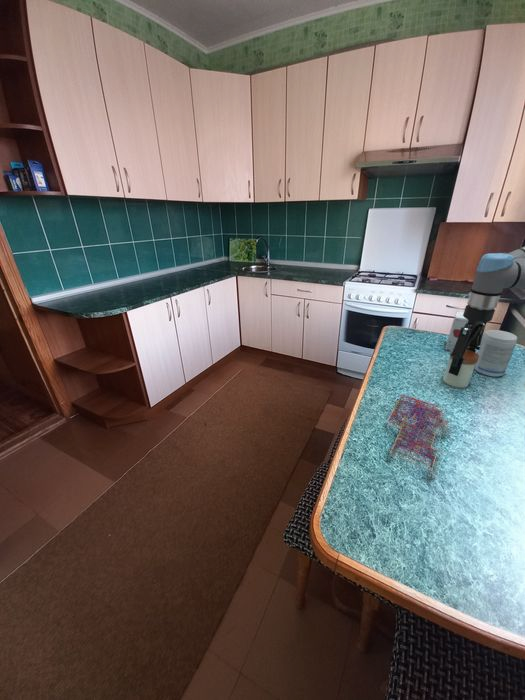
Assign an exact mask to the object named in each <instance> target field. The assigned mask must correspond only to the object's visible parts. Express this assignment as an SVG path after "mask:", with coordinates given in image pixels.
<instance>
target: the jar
mask: <svg viewBox="0 0 525 700" xmlns="http://www.w3.org/2000/svg"><path fill="white" fill-rule="evenodd" d="M452 360H453V359H452V358H451V357H450V356H449V358H448V361H447V365H446V368H445V370H444V374H443V376H442V377H443V378H442V381H443V382H444V383H445V384H447V385H449V386H450V387H454V388H459V389H463V388H467V387H468V386H469V385H470V381H471V378H472V377H473V373H474V371H475V369H474V368H475V365H476V363H474V364H466V363H462V365H461V368H460V371H459V374H458V376H455V375H453V374H450V373H448V372H449V369H450V366H451V363H452Z"/></svg>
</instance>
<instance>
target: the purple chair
mask: <svg viewBox="0 0 525 700" xmlns="http://www.w3.org/2000/svg"><path fill="white" fill-rule="evenodd" d="M444 408H445V407H444V405H443V404H439V403H437V404H436V403H432V402H429V401H425V400H423V399H421V398H420V399H419V398H416V397H414V396H411V395H407V394H404V393H401V394H400V396H399V398H398V400H397V402H396V404H395V406H394V407H393V408H392V410H391V412H390V414H389V415H388V418H387V419H386V421H385V424H386V425H387V426H389V427H392V428H395V429H398V430H399V431H398V433H397V436H396V438H395V439H394V440H395V441H393V445H392V446H391V449H390V450H389V452H388V453H389V454H388V458H387V461H390V457H391V456H394V457H397V458H399V459H401V460H402V461H403V460H404V461H406V462H407V463H410V464H411V465H412V464H413V465H415V466H417V467H419V468H422V469H424V470H426V471H428V472H429V473H428V475H427V477H428V479H430V478H432V479H434V480H438V477H439V472H440V471H439V470H440V469H441V466H442V463H441V462H442V461H443V456H444V452H445V450H444V449H442V448H439V445H440V441H441V440H440V439H441V438H444V436H447V437H451V436H452V434H451V433H452V432H453V428H454V422H455V421H454V420H452V419H449V418H447V416H448V412H449V411H448V410H446V409H444ZM399 417H400V418H399ZM390 422H391V423H390ZM397 425H399V426H397ZM446 433H447V434H446ZM398 450H399V451H398ZM405 450H406V451H405ZM394 452H395V454H394ZM439 453H440V454H439ZM397 454H400V456H399V455H397ZM408 454H409V455H408ZM438 454H439V455H438ZM402 456H403V457H402ZM420 456H421V457H420ZM440 456H441V457H440ZM404 457H405V458H404ZM437 457H438V458H437ZM407 458H409V459H410V460H408V459H407ZM440 459H441V460H440ZM412 460H414V461H415V462H412ZM432 461H433V462H432ZM416 462H418V463H420V464H417V463H416ZM429 463H430V464H429ZM423 464H424V465H425V467H424V466H421V465H423ZM431 464H432V465H431ZM427 466H428V467H429V468H427ZM434 470H435V471H434ZM436 471H437V472H436ZM431 475H432V476H431Z"/></svg>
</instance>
